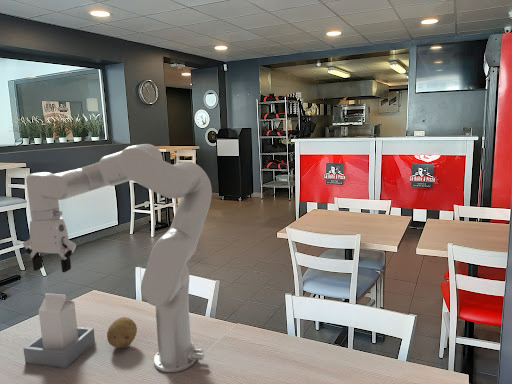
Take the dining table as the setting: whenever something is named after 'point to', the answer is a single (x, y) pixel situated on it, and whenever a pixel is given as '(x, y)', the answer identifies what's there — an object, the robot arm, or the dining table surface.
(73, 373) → the dining table surface
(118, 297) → the dining table surface
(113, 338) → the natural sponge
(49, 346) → the milk carton
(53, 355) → the box
